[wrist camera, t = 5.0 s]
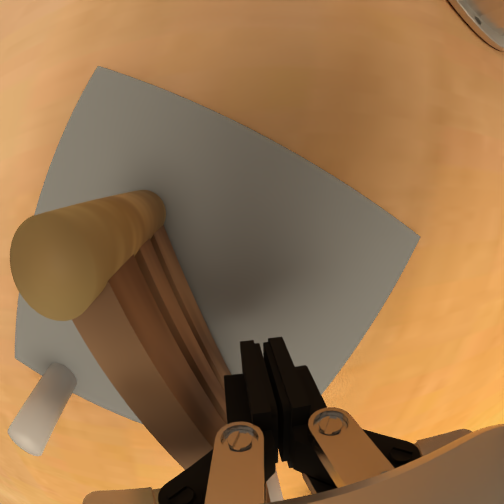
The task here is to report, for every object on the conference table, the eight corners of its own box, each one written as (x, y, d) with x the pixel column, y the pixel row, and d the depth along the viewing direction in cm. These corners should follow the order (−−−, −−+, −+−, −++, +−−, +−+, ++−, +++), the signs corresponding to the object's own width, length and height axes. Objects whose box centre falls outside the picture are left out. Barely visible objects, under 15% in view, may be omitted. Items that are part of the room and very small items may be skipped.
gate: (259, 414, 18) (284, 526, 9) (226, 424, 18) (238, 535, 9) (155, 182, 13) (68, 194, 5) (113, 200, 13) (-3, 239, 5)
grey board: (100, 68, 12) (-11, -25, 2) (416, 235, 17) (552, 292, 7) (17, 382, 17) (-39, 468, 6) (247, 471, 21) (264, 569, 11)
